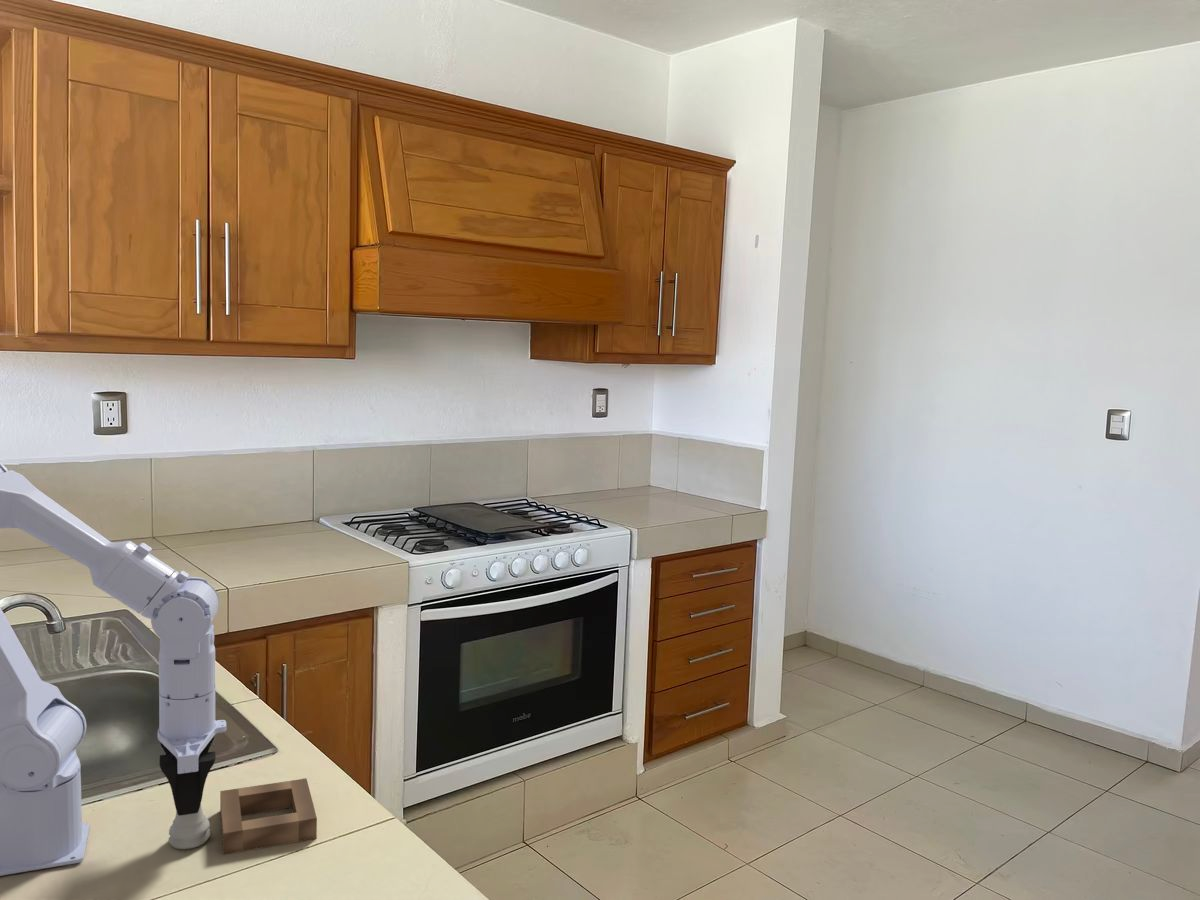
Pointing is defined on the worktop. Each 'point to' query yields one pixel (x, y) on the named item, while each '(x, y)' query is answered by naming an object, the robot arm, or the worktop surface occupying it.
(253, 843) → the walnut docking collar
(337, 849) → the worktop surface
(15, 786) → the robot arm
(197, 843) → the rook chess piece
